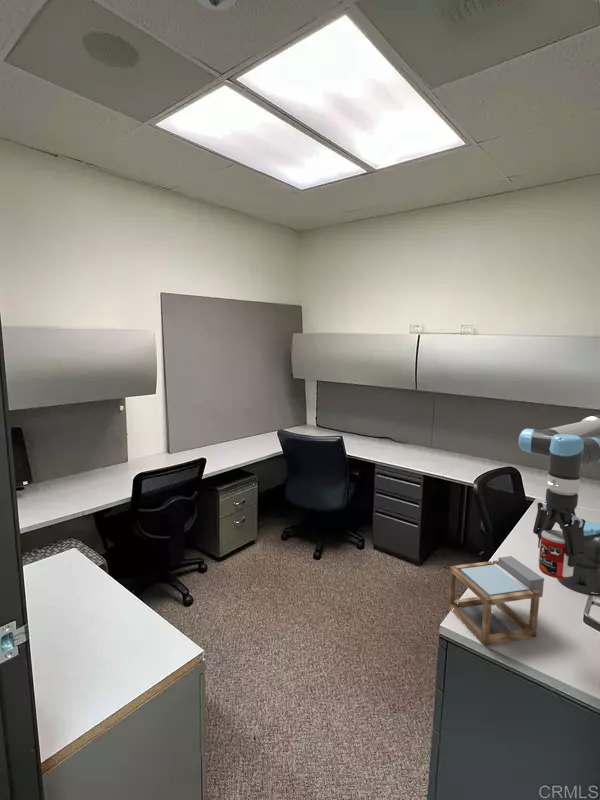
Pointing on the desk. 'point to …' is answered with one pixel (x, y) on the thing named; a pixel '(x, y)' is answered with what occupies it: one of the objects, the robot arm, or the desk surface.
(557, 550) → the canned food
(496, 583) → the trapdoor
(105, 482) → the desk surface
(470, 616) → the frame
